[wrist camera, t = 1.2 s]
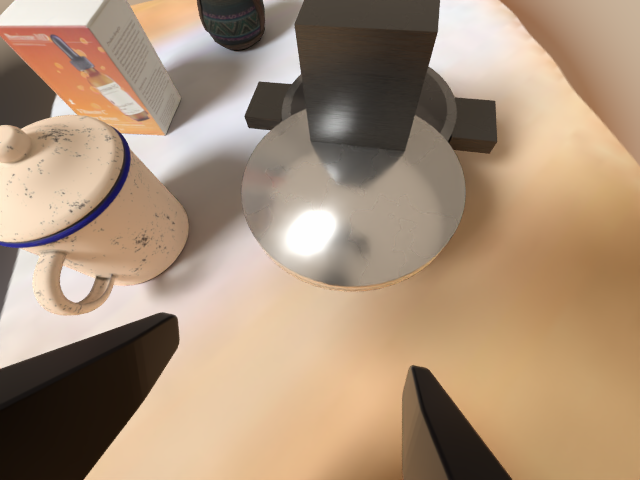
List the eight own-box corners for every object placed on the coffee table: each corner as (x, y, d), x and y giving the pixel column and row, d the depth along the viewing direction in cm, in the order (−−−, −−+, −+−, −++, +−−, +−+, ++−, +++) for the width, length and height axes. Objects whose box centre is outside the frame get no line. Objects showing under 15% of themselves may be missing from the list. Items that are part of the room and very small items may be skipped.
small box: (95, 134, 31) (-15, 25, 21) (116, 96, 33) (25, -17, 24) (167, 137, 30) (85, 25, 21) (183, 98, 32) (117, -19, 23)
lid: (456, 312, 15) (564, 250, 8) (218, 269, 17) (123, 185, 10) (460, 123, 21) (526, -21, 13) (277, 106, 22) (245, -28, 15)
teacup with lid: (101, 198, 27) (-51, 85, 17) (198, 188, 27) (106, 66, 16) (63, 333, 22) (-190, 292, 12) (182, 322, 22) (34, 270, 11)
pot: (468, 232, 23) (502, 192, 18) (246, 199, 26) (223, 157, 21) (469, 112, 29) (495, 56, 24) (283, 96, 31) (272, 43, 26)
